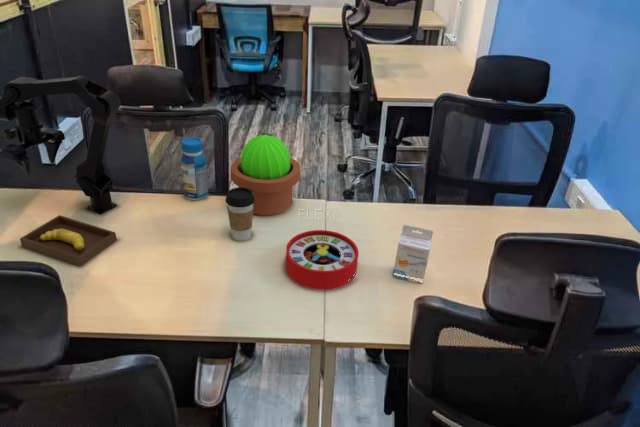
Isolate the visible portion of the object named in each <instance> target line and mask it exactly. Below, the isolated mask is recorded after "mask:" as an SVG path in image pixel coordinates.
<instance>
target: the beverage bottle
mask: <svg viewBox="0 0 640 427" xmlns="http://www.w3.org/2000/svg"><path fill="white" fill-rule="evenodd" d="M180 144H181V151H182V152H183V153H182V154H181V157H180V163H181V166H180V170H181V173H182V174H181V175H182V183H183V195H184V197H185V198H186V199H187V200H190V201H199V200H203V199H205V198H207V197H208V196H209V193H210V192H209V182H208V164H207V157H206V155H205V153H204V152H203V151H204V142H203V139H202V138H200V137H198V136H190V137H189V136H188V137H186V138H183V139H182V140H181V143H180Z"/></svg>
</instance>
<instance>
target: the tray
mask: <svg viewBox="0 0 640 427" xmlns="http://www.w3.org/2000/svg"><path fill="white" fill-rule="evenodd" d="M55 229H66V230H69V231H72V232H75V233H78V234H80V235H81V236H82V238H83V239H84V248H83V249H82V251H80V252H79V250H76V249H75V248H74V245H73V244H70V243H67V242H64V241H61V240H46V241H39V240H38V238H39V237H40V236H41V235H42V234H45V233H46V232H47V231H53V230H55ZM117 239H118V238H117V234H116V231H112V230H109V229H105V228H102V227H99V226H96V225H92V224H89V223H86V222H83V221H80V220H77V219H74V218H73V219H72V218H70V217H67V216H63V215H60V214H59V215H57V216H55V217H54V218H52V219H50V220H49V221H46V222H45V223H43V224H42V225H40V226H39V227H36V228H35V229H33V230H32V231H30V232H28V233H27V234H25V235H23V236H21V237H20V238H19V242H20V244H21V247H23V248H25V249H28V250H31V251H34V252H36V253H40V254H42V255H45V256H49V257H51V258H54V259H57V260H60V261H63V262H66V263H69V264H72V265H75V266H77V267H81V268H82V266H85V264H86V263H88V262H89V261H91V260H92V259H93V258H95V257H96V256H97V255H99V254H101V253H102V252H103V251H104V250H106V249H107V248H108V247H110V246H111V245H112V244H114V243H116V242H117V241H118V240H117Z"/></svg>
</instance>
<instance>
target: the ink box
mask: <svg viewBox="0 0 640 427" xmlns="http://www.w3.org/2000/svg"><path fill="white" fill-rule="evenodd" d="M417 231H418V232H419V233H418V232H417ZM433 234H434V231H433V230H431V229H426V228H422V227H418V226H413V225H408V224H403V225H402V231H401V234H400V237H399V241H398V244H397V250H396V255H395V261H394V267H393V272H394V273H397V274H401V275H405V276H409V277H415V278H420V279H425V275H426V271H427V267H428V261H429V257H430V252H431V249H432V248H431V247H432V243H433V241H432V239H433ZM392 277H393V278H396V279H400V280H404V281H408V282H412V283H415V284H416V283H417V284H419V283H418V282H419V281H416V280H415V281H414V279H410V278H406V277H401V276H397V275H394V274H393V273H392Z"/></svg>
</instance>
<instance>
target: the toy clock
mask: <svg viewBox="0 0 640 427" xmlns="http://www.w3.org/2000/svg"><path fill="white" fill-rule="evenodd" d="M339 253H340V254H339ZM358 260H359V248H358V246H357V244H356V243H355V242H354V241H353V240H352V239H351V238H350V237H348V236H346V235H344V234H342V233H339V232H337V231H332V230H325V229H314V230H312V229H311V230H307V231H303V232H300V233H299V234H296V235H294V236H292V238H291V239H290V240H289V241H288V242H287V244H286V248H285V272H286V274H287V276H289V278H290V279H291V280H292V281H293V282H295V283H296V284H298V285H299V286H302V287H305V288H308V289H311V290H318V291H329V290H336V289H339V288H342V287H345V286H346V285H348V284H350V283H351V282H352V281H353V280H354V279H355V277H356V275H357V270H358V262H359V261H358ZM355 272H356V273H355ZM354 274H355V275H354ZM353 275H354V276H353ZM349 279H350V280H349ZM348 280H349V281H348Z"/></svg>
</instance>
